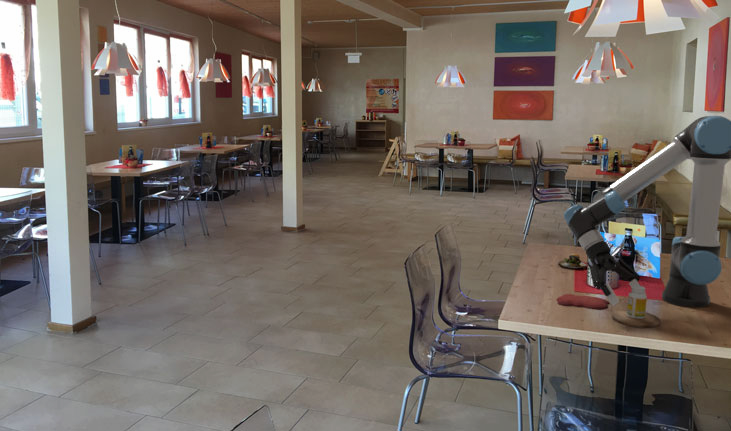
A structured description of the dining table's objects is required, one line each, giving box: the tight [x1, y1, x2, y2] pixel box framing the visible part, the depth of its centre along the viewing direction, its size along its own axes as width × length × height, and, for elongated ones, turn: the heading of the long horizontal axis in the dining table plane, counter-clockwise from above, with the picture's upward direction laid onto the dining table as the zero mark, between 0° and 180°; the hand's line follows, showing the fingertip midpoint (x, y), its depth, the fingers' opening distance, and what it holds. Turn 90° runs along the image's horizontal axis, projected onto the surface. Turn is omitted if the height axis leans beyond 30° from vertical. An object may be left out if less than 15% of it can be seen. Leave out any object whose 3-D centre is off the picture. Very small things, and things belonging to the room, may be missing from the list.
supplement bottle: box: [626, 285, 648, 319], centre depth 196 cm, size 5×5×10 cm
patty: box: [556, 293, 610, 311], centre depth 216 cm, size 18×14×2 cm
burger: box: [557, 250, 588, 270], centre depth 268 cm, size 12×12×8 cm
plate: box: [611, 309, 661, 329], centre depth 197 cm, size 14×14×1 cm
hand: (630, 301), depth 198 cm, fingers open, 13 cm apart
